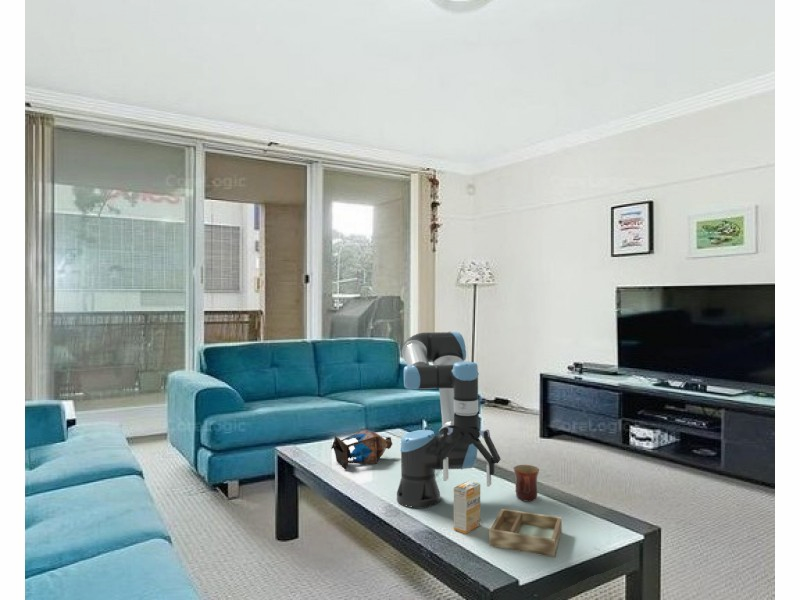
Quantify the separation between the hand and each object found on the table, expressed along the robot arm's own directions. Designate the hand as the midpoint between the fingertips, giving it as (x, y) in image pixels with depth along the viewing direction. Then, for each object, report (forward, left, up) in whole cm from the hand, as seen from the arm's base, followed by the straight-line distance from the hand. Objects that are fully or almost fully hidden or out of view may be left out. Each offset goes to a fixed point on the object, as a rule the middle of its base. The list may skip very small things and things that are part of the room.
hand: (467, 482), depth 164 cm
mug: (+13, +28, -14) cm, 34 cm away
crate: (+18, -1, -14) cm, 23 cm away
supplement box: (0, 0, -14) cm, 14 cm away
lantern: (-58, +45, -14) cm, 75 cm away
